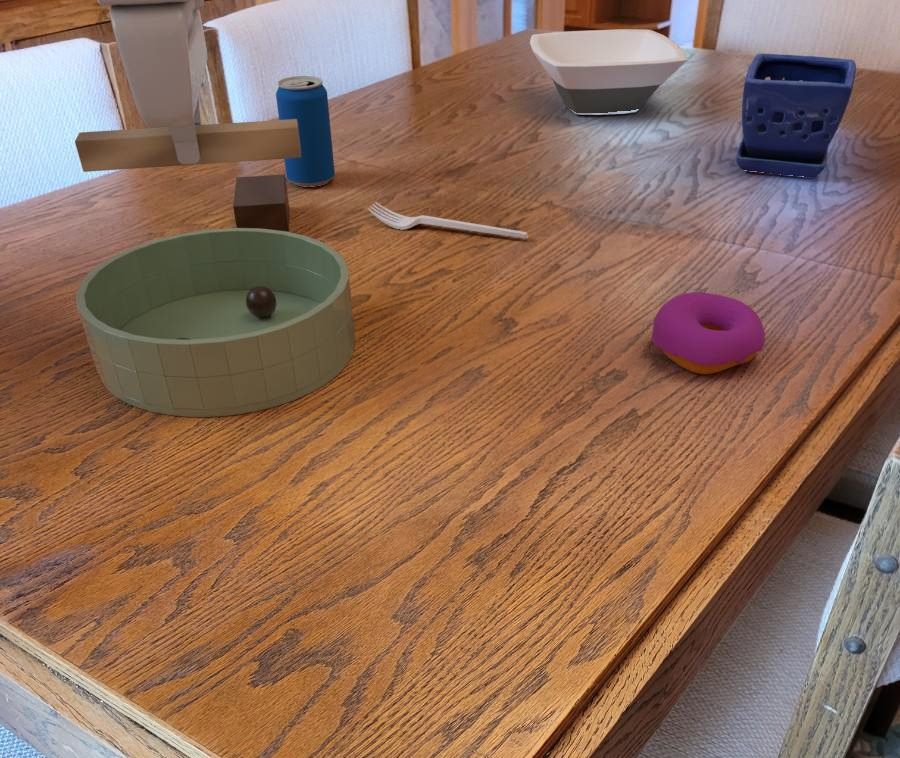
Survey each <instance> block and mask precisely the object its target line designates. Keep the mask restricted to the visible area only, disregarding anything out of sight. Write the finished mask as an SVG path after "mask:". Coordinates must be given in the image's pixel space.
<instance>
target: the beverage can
mask: <svg viewBox="0 0 900 758" xmlns="http://www.w3.org/2000/svg"><path fill="white" fill-rule="evenodd" d="M277 86H278V87H277V90H276V92H275V99H276V106H277V114H278V120H289V119H297V122H298V130H299V138H300V146H301V158H288V159H283V161H284V167H285V177H286V179H287V180H288V181H289V182H291V183H292V184H293V183H294V184H296V185H299V186H307V187H310V186H319V185H323V184H326V183H328V182H329V181H330V182H331V180H333V179H334V178H335V176H336V171H335V161H334V150H333V140H332V130H331V120H330V109H329V99H328V91H327V89H326V87H325V86H324V85H323V79H322V78H320V77H317V76H311V75H296V76H290V77H284V78H282V79H280V80H279V81H277ZM330 182H329V183H330ZM329 183H328V184H329ZM294 184H293V185H294ZM296 185H295V186H296ZM326 185H327V184H326Z"/></svg>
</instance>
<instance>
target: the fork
mask: <svg viewBox="0 0 900 758" xmlns="http://www.w3.org/2000/svg"><path fill="white" fill-rule="evenodd" d="M371 204H372V205H370V206H369V207H367V210H368V211H369V212H370V213H371V214H372V215H373V216H374V217H375V218H376V219H377V220H379V221H380V222H382V223H384V224H385V225H387V226H388V227H390V228H393V229H396V230H399V229H400V231H403V230H408V229H411V228H413V227H415V226H417V225H419V224H421V225H422V224H423V225H430V226H435V227H436V226H437V227H443V228H452V229H458V230H464V231H471V232H478V233H485V234H492V235H500V236H506V237H512V238H520V239H526V238H527V239H528V238H529V233H528V232H527V231H521V230H515V229H509V228H505V227H497V226H491V225H485V224H479V223H472V222H467V221H460V220H454V219H448V218H441V217H436V216H430V215H423V214H422V215H418V216H407V215H403V214H400V213H397V212H395V211H393V210H391V209H389V208H387V207H385V206H383V205H382V204H380V203H379V202H377V201H374V203H371Z"/></svg>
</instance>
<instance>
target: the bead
mask: <svg viewBox="0 0 900 758" xmlns="http://www.w3.org/2000/svg"><path fill="white" fill-rule="evenodd" d="M246 306H247V308H248V310H249V311H250V313H251V314H253V315H254V316H256V317H259V318H265V317H268V316H270V315H271V314H272V313H273V312H274V311H275V309H276V297H275V295H274V294H273V292H272V291H271V290H270V289H268V288H266V287H263V286H258V287H254V288H253V289H251V290H250V291H249V292H248V294H247V297H246Z"/></svg>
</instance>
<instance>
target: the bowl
mask: <svg viewBox="0 0 900 758" xmlns="http://www.w3.org/2000/svg"><path fill="white" fill-rule="evenodd" d="M529 45H530V47H531V50H532V52H533V55H535V57H536V59H537V60H538V62H539V63H540V64H541V66H542V68H543V69H544V70H545V72H546V73H547V75H548V76H549V77H550V78H551V81H552V82H553V84H554V86H555V88H556V91H557V92H558V94H559V96H560V98H561V101H562V102H563V104H564V106H565V105H566V106H567V107H568V108H569V109H571V110H573V111H574V112H576V113H608V112H617V111H631V110H636V109H640V110H641V109H642V108H643V106H645V104H646V103H647V102H648V100H649V99H650V98H651V97H652V96H653V94H654V93H655V92H656V91H657V90H658V89H659V88H660V86H661V85H663V84H664V83H666V81H667V80H669V78H671V76H673V75H674V74H675V73H676V72H677V71H679V69H680V68H681V67H682V66H683V65H684V64H686V63H687V59H688V58H687V53H686V51H685V50H684V49H683V48H682V47H681V46H680V45H679V43H677V42H676V41H673V40H672V39H671V38H670V37H667V36H666V35H664V34H662V33H658V32H657V31H654V30H652V29H640V28H639V29H635V28H634V29H633V28H632V29H629V28H620V29H618V28H617V29H596V30H595V29H594V30H593V29H592V30H572V31H571V30H570V31H569V30H568V31H552V32H544V33H535V34H532V35H531V37H530V40H529ZM566 106H565V107H566ZM567 107H566V108H567ZM568 108H567V109H568ZM569 109H568V110H569Z"/></svg>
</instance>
